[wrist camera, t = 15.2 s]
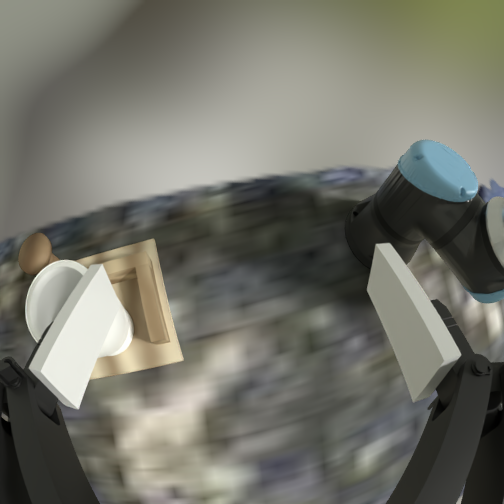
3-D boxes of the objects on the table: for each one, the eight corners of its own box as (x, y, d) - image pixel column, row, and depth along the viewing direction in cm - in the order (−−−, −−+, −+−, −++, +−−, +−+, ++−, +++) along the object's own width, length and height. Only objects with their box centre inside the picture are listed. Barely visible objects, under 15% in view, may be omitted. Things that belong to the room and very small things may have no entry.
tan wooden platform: (155, 241, 44) (137, 199, 33) (183, 360, 37) (168, 355, 26) (48, 272, 40) (11, 242, 29) (61, 383, 32) (16, 381, 21)
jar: (78, 358, 34) (20, 345, 20) (84, 295, 38) (33, 258, 24) (140, 366, 35) (97, 361, 21) (142, 298, 39) (106, 259, 26)
